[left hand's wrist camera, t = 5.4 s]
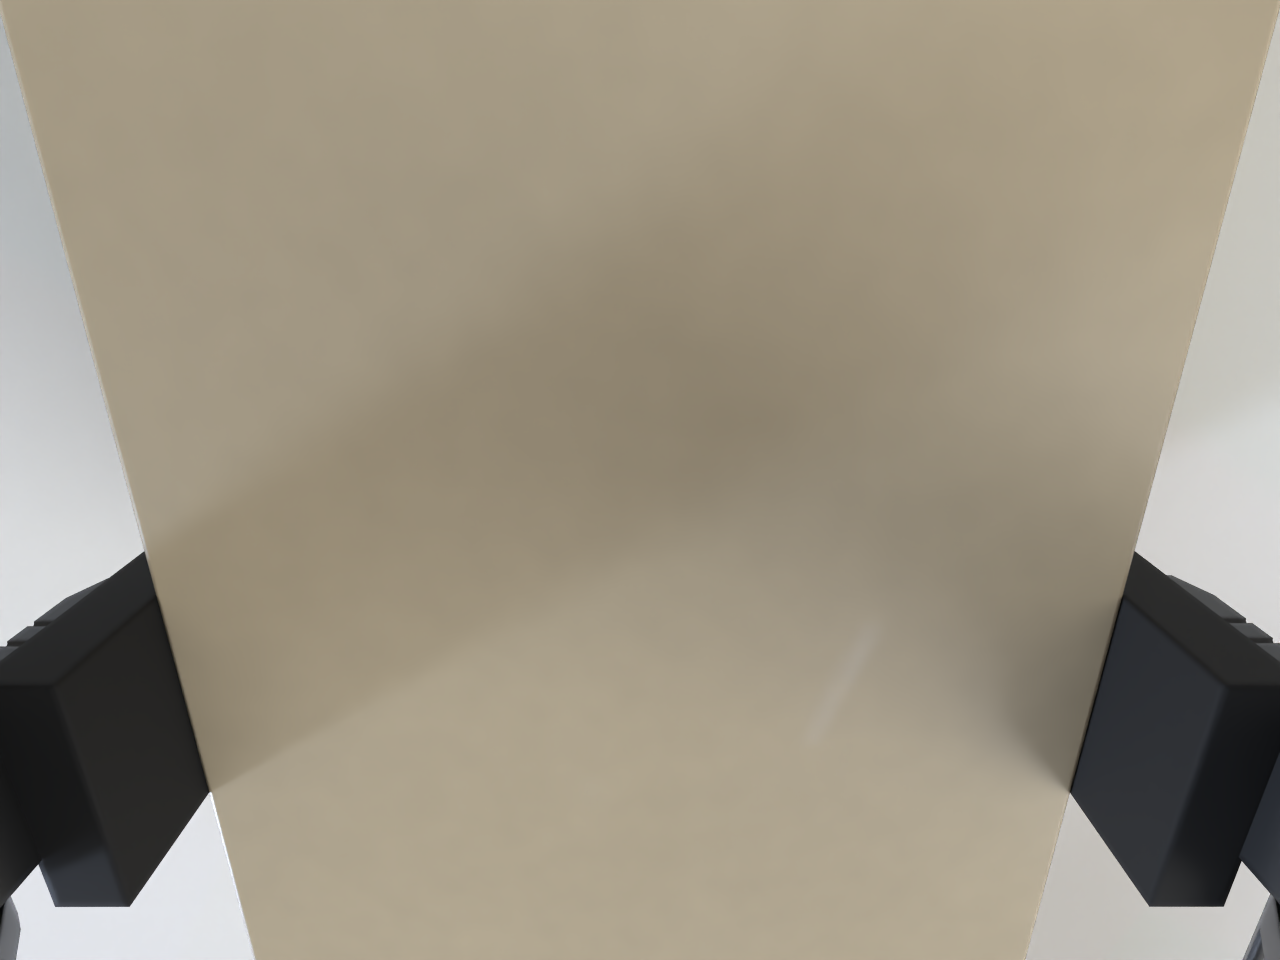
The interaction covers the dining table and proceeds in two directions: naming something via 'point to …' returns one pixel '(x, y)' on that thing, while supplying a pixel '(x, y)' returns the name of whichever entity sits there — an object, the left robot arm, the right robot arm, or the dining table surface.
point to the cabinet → (639, 439)
